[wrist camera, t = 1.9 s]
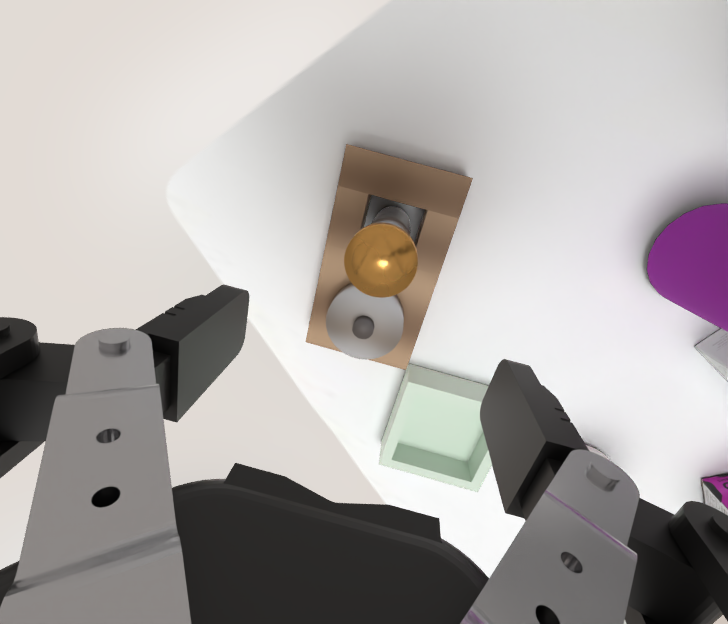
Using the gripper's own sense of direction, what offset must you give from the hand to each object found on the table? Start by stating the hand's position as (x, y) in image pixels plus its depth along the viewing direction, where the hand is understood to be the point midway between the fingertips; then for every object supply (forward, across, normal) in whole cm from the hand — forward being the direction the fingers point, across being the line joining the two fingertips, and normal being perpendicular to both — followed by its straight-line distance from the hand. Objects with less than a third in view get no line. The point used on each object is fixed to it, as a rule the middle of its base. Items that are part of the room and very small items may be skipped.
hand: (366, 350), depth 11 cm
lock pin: (+20, 0, -1) cm, 20 cm away
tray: (+20, -9, +17) cm, 28 cm away
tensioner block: (+20, 0, +2) cm, 20 cm away
